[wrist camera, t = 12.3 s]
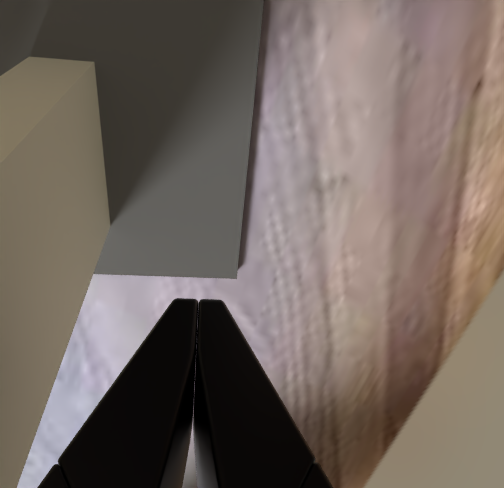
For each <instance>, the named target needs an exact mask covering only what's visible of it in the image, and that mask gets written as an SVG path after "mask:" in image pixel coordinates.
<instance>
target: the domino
mask: <svg viewBox="0 0 504 488" xmlns="http://www.w3.org/2000/svg"><path fill="white" fill-rule="evenodd" d="M109 228H110V216H109V206H108V196H107V186H106V176H105V165H104V155H103V145H102V135H101V125H100V114H99V104H98V94H97V84H96V74H95V63H94V62H90V61H77V60H65V59H53V58H41V57H28V58H26V59H25V60H23V61H22V62H20V63H19V64H17V65H16V66H15V67H13V68H12V69H10V70H9V71H7V72H6V73H4V74H3V75H1V76H0V488H17V485H18V482H19V479H20V476H21V474H22V471H23V468H24V465H25V463H26V460H27V457H28V454H29V451H30V449H31V446H32V443H33V440H34V437H35V435H36V432H37V429H38V426H39V423H40V421H41V418H42V415H43V412H44V410H45V407H46V404H47V401H48V398H49V396H50V393H51V390H52V387H53V384H54V382H55V379H56V376H57V373H58V371H59V368H60V365H61V362H62V359H63V357H64V354H65V351H66V348H67V345H68V343H69V340H70V337H71V334H72V332H73V329H74V326H75V323H76V320H77V318H78V315H79V312H80V309H81V306H82V304H83V301H84V298H85V295H86V292H87V290H88V287H89V284H90V281H91V279H92V276H93V273H94V270H95V267H96V265H97V262H98V259H99V256H100V253H101V251H102V248H103V245H104V242H105V240H106V237H107V234H108V231H109Z"/></svg>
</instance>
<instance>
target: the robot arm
mask: <svg viewBox="0 0 504 488" xmlns="http://www.w3.org/2000/svg"><path fill="white" fill-rule="evenodd" d="M197 322H198V327H197ZM196 344H197V348H196ZM195 365H196V369H195ZM194 385H195V391H194ZM193 406H194V413H193ZM192 421H193V432H194V448H195V462H196V475H197V488H333V487H332V485H331V483H330V482H329V480H328V478H327V476H326V475H325V473H324V471H323V470H322V468H321V466H320V464H319V463H317V462H316V463H315V456H314V455H313V453H312V451H311V450H310V448H309V446H308V444H307V443H306V441H305V439H304V438H303V436H302V434H301V433H300V431H299V429H298V427H297V426H296V424H295V422H294V421H293V419H292V417H291V416H290V414H289V412H288V410H287V409H286V407H285V405H284V404H283V402H282V400H281V398H280V397H279V395H278V393H277V392H276V390H275V388H274V387H273V385H272V383H271V381H270V380H269V378H268V376H267V375H266V373H265V371H264V370H263V368H262V366H261V364H260V363H259V361H258V359H257V358H256V356H255V354H254V352H253V351H252V349H251V347H250V346H249V344H248V342H247V341H246V339H245V337H244V335H243V334H242V332H241V330H240V329H239V327H238V325H237V324H236V322H235V320H234V318H233V317H232V315H231V313H230V312H229V310H228V308H227V306H226V305H225V303H224V302H223V301H222V300H212V299H202V300H200V301H199V307H198V301H197V300H196V299H181V298H177V299H174V300H173V301H172V303H171V304H170V305H169V307H168V308H167V309H166V311H165V312H164V314H163V315H162V316H161V318H160V319H159V321H158V322H157V323H156V325H155V326H154V327H153V329H152V330H151V332H150V333H149V334H148V336H147V337H146V339H145V340H144V341H143V343H142V344H141V345H140V347H139V348H138V350H137V351H136V352H135V354H134V355H133V357H132V358H131V359H130V361H129V362H128V363H127V365H126V366H125V368H124V369H123V370H122V372H121V373H120V374H119V376H118V377H117V379H116V380H115V381H114V383H113V384H112V386H111V387H110V388H109V390H108V391H107V392H106V394H105V395H104V397H103V398H102V399H101V401H100V402H99V404H98V405H97V406H96V408H95V409H94V410H93V412H92V413H91V415H90V416H89V417H88V419H87V420H86V422H85V423H84V424H83V426H82V427H81V428H80V430H79V431H78V433H77V434H76V435H75V437H74V438H73V440H72V441H71V442H70V444H69V445H68V446H67V448H66V449H65V451H64V452H63V453H62V455H61V456H60V458H59V459H58V464H59V465H58V464H55V465H54V466H53V467H52V468H51V470H50V471H49V472H48V474H47V475H46V477H45V478H44V479H43V481H42V482H41V483H40V485H39V486H38V488H182V485H183V479H184V473H185V467H186V462H187V456H188V450H189V444H190V438H191V431H192Z"/></svg>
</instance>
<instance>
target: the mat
mask: <svg viewBox="0 0 504 488" xmlns="http://www.w3.org/2000/svg"><path fill="white" fill-rule="evenodd" d="M263 5H264V0H0V76H1V75H3V74H4V73H6V72H7V71H9V70H10V69H12V68H13V67H15V66H16V65H17V64H19V63H20V62H22V61H23V60H25V59H26V58H28V57H41V58H53V59H65V60H77V61H90V62H94V63H95V74H96V84H97V94H98V104H99V114H100V125H101V135H102V145H103V155H104V165H105V176H106V186H107V196H108V206H109V216H110V228H109V231H108V234H107V237H106V240H105V242H104V245H103V248H102V251H101V253H100V256H99V259H98V262H97V265H96V267H95V270H94V273H93V274H111V275H141V276H171V277H200V278H230V279H237V270H238V260H239V250H240V240H241V229H242V219H243V209H244V199H245V189H246V178H247V168H248V158H249V148H250V137H251V127H252V117H253V107H254V97H255V86H256V76H257V66H258V56H259V45H260V35H261V25H262V15H263Z"/></svg>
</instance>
